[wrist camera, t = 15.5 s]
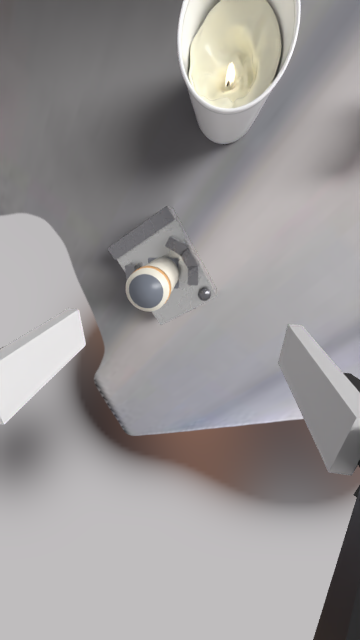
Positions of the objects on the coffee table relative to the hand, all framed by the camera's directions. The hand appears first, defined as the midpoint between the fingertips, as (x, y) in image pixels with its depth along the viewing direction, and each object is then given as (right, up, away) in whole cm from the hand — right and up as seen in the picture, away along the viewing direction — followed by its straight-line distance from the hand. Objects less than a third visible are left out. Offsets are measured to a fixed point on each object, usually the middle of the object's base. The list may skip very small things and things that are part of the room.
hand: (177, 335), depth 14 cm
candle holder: (+6, +29, +15) cm, 34 cm away
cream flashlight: (-2, +8, +20) cm, 22 cm away
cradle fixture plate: (-2, +10, +24) cm, 27 cm away
